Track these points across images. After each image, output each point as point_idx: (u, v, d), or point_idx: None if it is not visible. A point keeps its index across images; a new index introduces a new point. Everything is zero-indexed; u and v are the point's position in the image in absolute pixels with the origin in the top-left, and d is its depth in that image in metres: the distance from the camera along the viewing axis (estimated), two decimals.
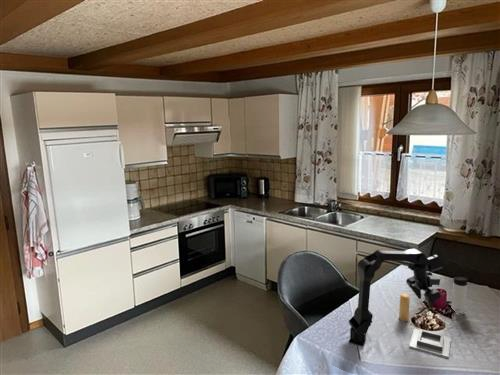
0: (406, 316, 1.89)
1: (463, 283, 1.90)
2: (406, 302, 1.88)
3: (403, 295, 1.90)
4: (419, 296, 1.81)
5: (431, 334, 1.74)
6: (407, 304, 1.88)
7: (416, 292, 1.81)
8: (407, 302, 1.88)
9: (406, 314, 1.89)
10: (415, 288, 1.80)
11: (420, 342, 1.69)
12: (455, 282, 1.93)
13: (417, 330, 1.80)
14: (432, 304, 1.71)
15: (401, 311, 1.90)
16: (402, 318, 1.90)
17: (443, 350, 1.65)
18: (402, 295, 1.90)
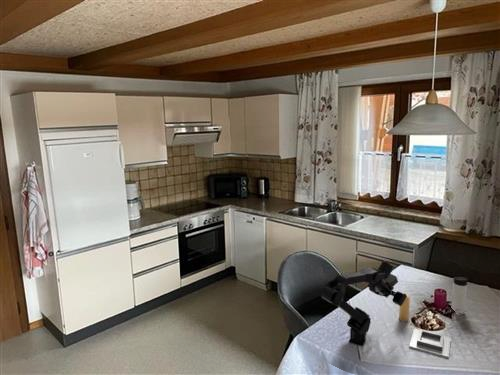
0: (406, 316, 1.89)
1: (463, 283, 1.90)
2: (406, 302, 1.88)
3: None
4: None
5: (431, 334, 1.74)
6: (407, 304, 1.88)
7: (382, 294, 1.87)
8: (407, 302, 1.88)
9: (406, 314, 1.89)
10: None
11: (420, 342, 1.69)
12: (455, 282, 1.93)
13: (417, 330, 1.80)
14: None
15: (401, 311, 1.90)
16: (402, 318, 1.90)
17: (443, 350, 1.65)
18: None
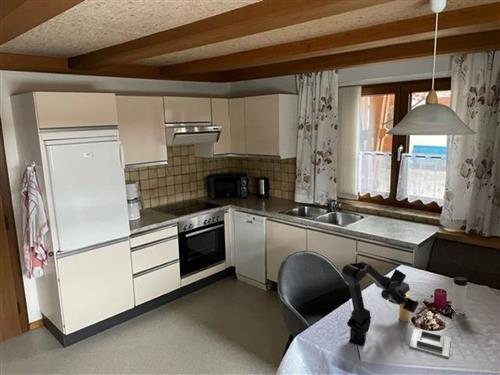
0: (406, 316, 1.89)
1: (463, 283, 1.90)
2: None
3: None
4: None
5: (431, 334, 1.74)
6: None
7: None
8: None
9: (406, 314, 1.89)
10: None
11: (420, 342, 1.69)
12: (455, 282, 1.93)
13: (417, 330, 1.80)
14: None
15: (401, 311, 1.90)
16: (402, 318, 1.90)
17: (443, 350, 1.65)
18: None
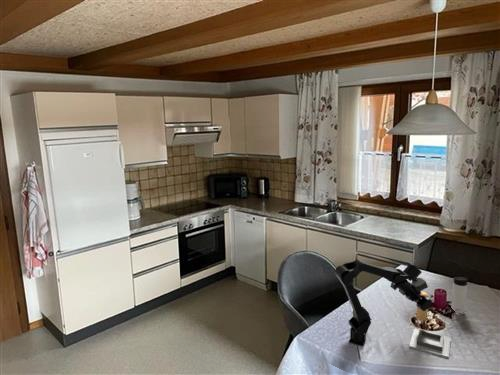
0: (423, 315, 1.77)
1: (463, 283, 1.90)
2: None
3: (421, 293, 1.78)
4: None
5: (431, 334, 1.74)
6: None
7: (415, 300, 1.80)
8: None
9: (423, 313, 1.77)
10: None
11: (420, 342, 1.69)
12: (455, 282, 1.93)
13: (417, 330, 1.80)
14: None
15: (418, 309, 1.78)
16: (418, 317, 1.78)
17: (443, 350, 1.65)
18: None
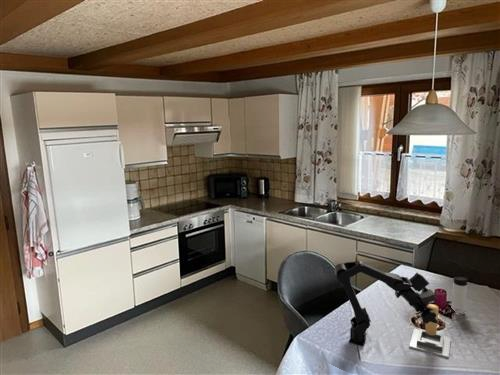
0: (431, 329, 1.68)
1: (463, 283, 1.90)
2: None
3: (431, 305, 1.69)
4: None
5: None
6: None
7: None
8: None
9: (431, 327, 1.68)
10: None
11: (420, 342, 1.69)
12: (455, 282, 1.93)
13: (417, 330, 1.80)
14: (434, 320, 1.65)
15: None
16: (426, 330, 1.70)
17: (443, 350, 1.65)
18: (430, 305, 1.69)
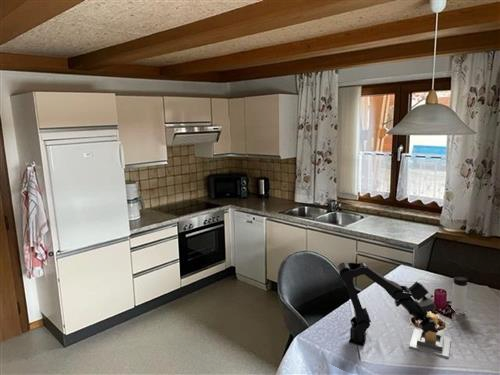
0: (430, 339, 1.69)
1: (463, 283, 1.90)
2: None
3: (430, 315, 1.69)
4: None
5: None
6: None
7: None
8: None
9: (430, 336, 1.69)
10: None
11: (420, 342, 1.69)
12: (455, 282, 1.93)
13: (417, 330, 1.80)
14: (434, 329, 1.66)
15: None
16: (426, 339, 1.71)
17: (443, 350, 1.65)
18: (429, 315, 1.70)
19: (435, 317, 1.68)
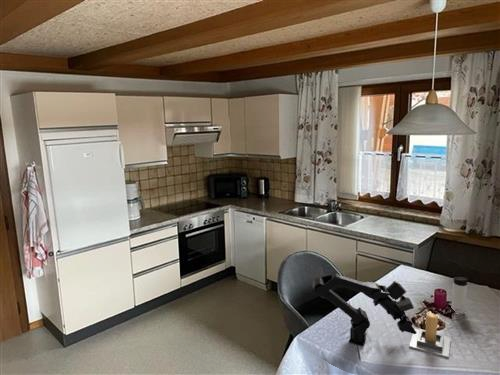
0: (430, 339, 1.69)
1: (463, 283, 1.90)
2: (430, 323, 1.67)
3: (430, 315, 1.69)
4: None
5: None
6: (431, 326, 1.67)
7: None
8: (431, 323, 1.67)
9: (430, 336, 1.69)
10: None
11: (420, 342, 1.69)
12: (455, 282, 1.93)
13: (417, 330, 1.80)
14: (412, 330, 1.65)
15: (425, 331, 1.71)
16: (426, 339, 1.71)
17: (443, 350, 1.65)
18: (429, 315, 1.70)
19: (435, 317, 1.68)
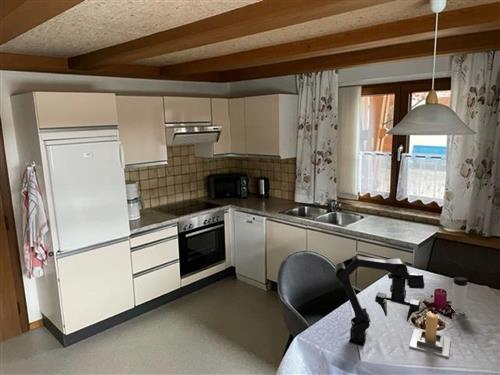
0: (430, 339, 1.69)
1: (463, 283, 1.90)
2: (430, 323, 1.67)
3: (430, 315, 1.69)
4: (386, 313, 1.71)
5: None
6: (431, 325, 1.67)
7: (385, 309, 1.70)
8: (431, 323, 1.67)
9: (430, 336, 1.69)
10: (385, 305, 1.70)
11: (420, 342, 1.69)
12: (455, 282, 1.93)
13: (417, 330, 1.80)
14: (409, 316, 1.66)
15: (425, 331, 1.71)
16: (426, 339, 1.71)
17: (443, 350, 1.65)
18: (429, 315, 1.70)
19: (435, 317, 1.68)
